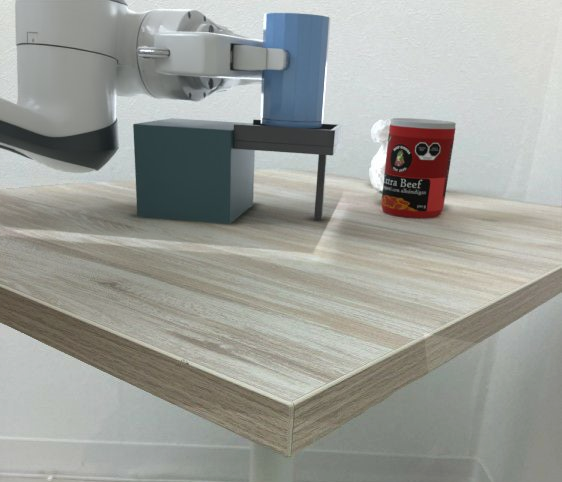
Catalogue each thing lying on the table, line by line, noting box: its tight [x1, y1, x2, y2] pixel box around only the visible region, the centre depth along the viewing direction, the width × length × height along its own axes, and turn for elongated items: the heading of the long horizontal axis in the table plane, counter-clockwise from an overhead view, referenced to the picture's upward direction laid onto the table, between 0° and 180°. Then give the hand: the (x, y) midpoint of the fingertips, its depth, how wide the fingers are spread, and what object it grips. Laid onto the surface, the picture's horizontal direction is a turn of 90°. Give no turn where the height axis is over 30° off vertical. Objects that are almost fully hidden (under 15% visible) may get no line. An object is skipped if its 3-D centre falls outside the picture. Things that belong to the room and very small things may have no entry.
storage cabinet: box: [132, 117, 344, 225], centre depth 70 cm, size 20×12×10 cm, turn 81°
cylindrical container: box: [260, 12, 331, 128], centre depth 65 cm, size 6×6×10 cm
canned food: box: [380, 117, 456, 219], centre depth 80 cm, size 8×8×11 cm
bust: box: [368, 118, 392, 192], centre depth 95 cm, size 12×8×11 cm
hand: (302, 61), depth 64 cm, fingers closed on cylindrical container, 6 cm apart
